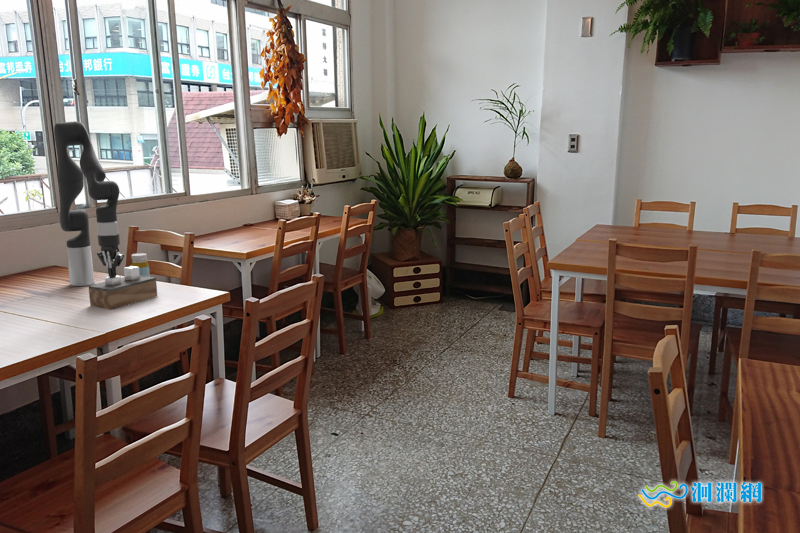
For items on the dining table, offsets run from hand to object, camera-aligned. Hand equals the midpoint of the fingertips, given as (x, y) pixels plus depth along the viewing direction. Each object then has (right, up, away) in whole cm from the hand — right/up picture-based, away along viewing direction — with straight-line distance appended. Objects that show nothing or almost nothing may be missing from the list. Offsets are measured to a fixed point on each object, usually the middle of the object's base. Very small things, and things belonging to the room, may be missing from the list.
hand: (112, 276), depth 234 cm
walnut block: (+2, -10, +6) cm, 12 cm away
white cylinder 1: (0, -8, +2) cm, 8 cm away
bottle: (0, -6, +27) cm, 27 cm away
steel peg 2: (+4, -4, +9) cm, 11 cm away
